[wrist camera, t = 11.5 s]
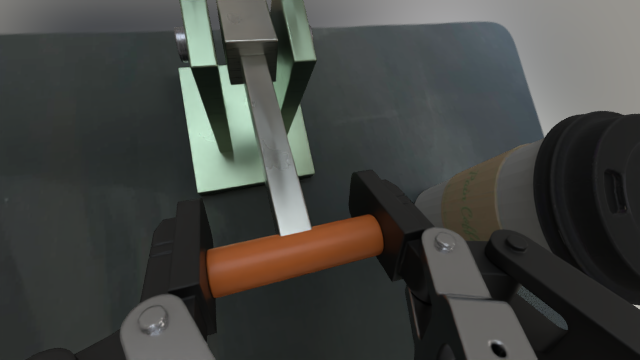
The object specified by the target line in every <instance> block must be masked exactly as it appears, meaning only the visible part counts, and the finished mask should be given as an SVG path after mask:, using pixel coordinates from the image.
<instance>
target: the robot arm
mask: <svg viewBox="0 0 640 360" xmlns="http://www.w3.org/2000/svg"><path fill="white" fill-rule="evenodd" d="M349 211H350V214H351V217H352V218H354V217H358V216H363V215H367V214H369V215H372V216H374V217H375V219H376V220H377V221H378V223H379V225H380V228H381V230H382V234H383V239H384V248H383V251H382V253H381V254H380V255H377V256H376V257H377V259H378V260H379V262H380V263H381V265H382V267H383V268H384V270H385V271H386V273H387V275H388V276H389V278H390V279H391V281H392V282H393V281H397V280H400V279H404V281H405V282H406V284H407V285H406V288H405V295H406V300H407V306H408V312H409V317H410V323H411V329H412V334H413V340H414V348H415V353H414V360H640V309H638V308H637V307H635V306H634V305H632V304H631V303H629V302H627V301H626V300H624V299H623V298H621V297H620V296H618V295H617V294H615V293H614V292H612V291H610V290H609V289H607V288H606V287H604V286H603V285H601V284H600V283H598V282H596V281H595V280H593V279H592V278H590V277H589V276H587V275H586V274H584V273H583V272H581V271H579V270H578V269H576V268H575V267H573V266H572V265H570V264H569V263H567V262H565V261H564V260H562V259H561V258H559V257H558V256H556V255H555V254H553V253H552V252H550V251H548V250H547V249H545V248H544V247H542V246H541V245H539V244H538V243H536V242H534V241H533V240H531V239H530V238H528V237H527V236H525V235H523V234H521V233H518V232H516V231H512V230H506V229H500V230H496V231H494V232H493V233H492V234H491V236H490V238H489V240H488V241H466V240H464V239H463V238H462V237H461V236H460V235H459V234H457V233H456V232H454V231H452V230H449V229H446V228H442V227H435V226H434V225H433V224H432V223H431V222H430V221H429V220H428V218H427V217H426V216H425V215H424V214H423V213H422V212H421V211H420V210H419V209H418V208H417V207H416V206H415V205H414V204H413V203H411V200H410V199H409V198H408V197H407V196H405V194H404V193H403V192H402V191H401V190H400V189H399V188H398V187H397V186H396V185H394V184H393V183H391V182H389V181H387V180H381V179H380V178H379V176H378V175H377V174H376V173H375V172H374V171H373V170H366V171H360V172H354V173H353V174H352V176H351V185H350V195H349ZM151 245H152V247H151V249H150V254H149V256H150V258H149V260H148V265H147V270H146V275H145V280H144V285H143V290H142V295H141V300H140V303H139V305H137V306H136V307H135V308H134V309H133V310H132V311H131V312H130V313H129V314H128V315H127V317H126V318H125V320H124V321H123V324H122V326H121V328H120V329H119V330H117V331H116V332H115V333H113V334H112V335H110V336H108V337H107V338H105V339H103V340H101V341H99V342H97V343H95V344H93V345H92V346H90V347H88V348H86V349H84V350H82V351H80V352H78V353H77V354H75V355H74V354H73V353H72V352H71V351H69V350H67V349H63V348H54V349H49V350H45V351H42V352H40V353H37V354H35V355H33V356H31V357H29V358H28V359H26V360H215V358H214V356H213V354H212V352H211V351H210V349H209V347H208V345H207V336H208V335H211V334H215V333H217V329H216V303H215V298H214V297H213V296H212V294H211V291H210V287H209V282H208V276H207V268H206V253H207V250H209V249H213V239H212V234H211V229H210V226H209V222H208V218H207V214H206V211H205V207H204V203H203V200H202V198H198V199H192V200H186V201H180V202H178V204H177V212H176V218H170V219H165V220H163V221H162V222H161V223H160V225H159V226H158V227H157V229H156V230H155V231H154V234H153V239H152V244H151ZM522 286H524V287H525V288H526V289H528V290H529V291H530V292H532V293H533V294H534V295H535V296H537V297H538V298H539V299H541V300H542V301H543V302H544V303H546V304H547V305H548V306H550V307H551V308H552V309H553V310H555V311H556V312H557V313H559V314H560V315H561V316H562V317H563V318H564V320H565V321H566V323H567V325H568V330H564V329H562V328H560V327H558V326H556V325H555V324H554V323H553V322H551V321H550V320H549V319H548V318H546V317H545V316H544V315H543V314H541V313H540V312H539V311H538V310H537V309H535V308H534V307H533V306H532V305H530V304H529V303H528V302H527V301H525V300H524V299H523V298H522V297H520V296H519V295H518V294H517V293H518V291H519V290H520V288H521V287H522Z"/></svg>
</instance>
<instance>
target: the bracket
mask: <svg viewBox="0 0 640 360" xmlns="http://www.w3.org/2000/svg"><path fill="white" fill-rule="evenodd" d="M179 1H180V7H181V14H182V20H183V26H184V27H175V29H174V33H175V40H176V44H177V49H178V52H179V56H180V59H181V61H182V62H189V64H190V67H185V68H178V71H179V77H180V84H181V90H182V97H183V103H184V110H185V116H186V123H187V129H188V136H189V142H190V149H191V155H192V162H193V168H194V175H195V181H196V188H197V193H198V194H199V195H206V194H212V193H218V192H224V191H229V190H235V189H241V188H247V187H253V186H259V185H265V180H264V176H263V171H262V166H261V162H260V157H259V152H258V148H257V143H256V138H255V134H254V129H253V125H252V120H251V115H250V111H249V106H248V101H247V97H246V92H245V88H244V84H239V85H231V84H230V80H229V75H228V70H227V65H221V66H218V61H217V56H216V50H215V45H214V39H213V33H212V28H211V22H210V17H209V12H208V6H207V0H179ZM270 15H271V19H272V22H273V25H274V28H275V32H276V35H277V38H278V52H277V74H276V82H273V85H274V89H275V93H276V96H277V100H278V104H279V107H280V111H281V115H282V118H283V122H284V126H285V130H286V133H287V137H288V141H289V144H290V148H291V152H292V155H293V159H294V163H295V166H296V170H297V174H298V177H299V179H300V178H306V177H312V176H313V175H314V174H315V172H314V167H313V162H312V157H311V153H310V148H309V143H308V139H307V134H306V129H305V125H304V120H303V115H302V110H301V106H300V102H301V99H302V97H303V94H304V92H305V89H306V87H307V84H308V81H309V79H310V76H311V74H312V71H313V69H314V66H315V64H316V61H317V59H316V55H315V50H314V46H313V33H312V29H311V26H310V25H309V24H308V19H307V15H306V10H305V6H304V1H303V0H272V3H271V12H270Z"/></svg>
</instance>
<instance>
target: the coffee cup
mask: <svg viewBox="0 0 640 360" xmlns="http://www.w3.org/2000/svg"><path fill="white" fill-rule="evenodd" d="M414 205H415V206H416V207H417V208H418V209H419V210H420V211H421V212H422V213H423V214H424V215H425V216H426V217H427V218H428V220H429V221H430V222H431V223H432V224H433V225H434V226H435V227H442V228H446V229H449V230H452V231H454V232H456V233H457V234H459V235H460V236H461V237H462V238H463V239H464V240H466V241H488V240H489V238H490V236H491V234H492V233H493V232H494V231H496V230H500V229H506V230H512V231H516V232H518V233H521V234H523V235H525V236H527V237H528V238H530V239H531V240H533V241H534V242H536V243H538V244H539V245H541V246H542V247H544V248H545V249H547V250H548V251H550V252H552V253H553V254H555V255H556V256H558V257H559V258H561V259H562V260H564V261H565V262H567V263H569V264H570V265H572V266H573V267H575V268H576V269H578V270H579V271H581V272H583V273H584V274H586V275H587V276H589V277H590V278H592V279H593V280H595V281H596V282H598V283H600V284H601V285H603V286H604V287H606V288H607V289H609V290H610V291H612V292H614V293H615V294H617V295H618V296H620V297H621V298H623V299H624V300H626V301H627V302H629V303H631V304H634V305H640V114H630V115H622V114H619V113H615V112H609V111H597V112H591V113H587V114H581V115H575V116H571V117H568V118H566V119H564V120H562V121H561V122H559V123H558V124H556V125H555V126H554V127H553V128H552V129H551V130H550V131H549V133H548V134H547V135H546V137H545V138H543V139H541V140H539V141H536V142H534V143H530V144H525V145H521V146H519V147H516V148H514V149H512V150H510V151H507V152H505V153H503V154H501V155H498V156H496V157H494V158H492V159H489V160H487V161H485V162H483V163H480V164H478V165H476V166H474V167H471V168H469V169H467V170H465V171H463V172H460V173H458V174H456V175H455V176H454V177H452V178H451V179H449V180H447V181H445V182H442V183H440V184H438V185H436V186H433V187H431V188H429V189H427V190H425V191H423V192H422V193H421V194H420V195H419V196H418V198H417V199H416V202H415V204H414Z"/></svg>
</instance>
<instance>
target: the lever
mask: <svg viewBox="0 0 640 360" xmlns="http://www.w3.org/2000/svg"><path fill="white" fill-rule="evenodd" d="M216 3H217V9H218V16H219V22H220V30H221V36H222V43H223V49H224V54H225V59H226V64H227V70H228V75H229V80H230V84H231V85H239V84H244V88H245V92H246V97H247V101H248V106H249V111H250V115H251V120H252V125H253V129H254V134H255V138H256V143H257V148H258V152H259V157H260V162H261V166H262V171H263V176H264V180H265V185H266V189H267V194H268V199H269V203H270V208H271V213H272V217H273V222H274V226H275V231H276V235H272V236H267V237H263V238H258V239H254V240H249V241H244V242H240V243H235V244H231V245H226V246H222V247H217V248H213V249H209V250H207V253H206V268H207V276H208V282H209V287H210V291H211V294H212V296H213V297H214V298H218V297H222V296H226V295H230V294H233V293H237V292H241V291H245V290H249V289H252V288H256V287H260V286H264V285H267V284H271V283H275V282H279V281H282V280H286V279H290V278H294V277H298V276H301V275H305V274H309V273H313V272H316V271H320V270H324V269H328V268H332V267H335V266H339V265H343V264H347V263H350V262H354V261H358V260H362V259H365V258H369V257H373V256H377V255H380V254H381V253H382V251H383V248H384V239H383V234H382V230H381V228H380V225H379V223H378V221H377V220H376V219H375V217H374V216H372V215H369V214H367V215H363V216H358V217H354V218H349V219H345V220H340V221H335V222H331V223H326V224H322V225H317V226H313V227H312V225H311V222H310V218H309V214H308V211H307V207H306V203H305V200H304V196H303V192H302V189H301V185H300V181H299V177H298V174H297V170H296V166H295V163H294V159H293V155H292V152H291V148H290V144H289V141H288V137H287V133H286V130H285V126H284V122H283V118H282V115H281V111H280V107H279V104H278V100H277V96H276V93H275V89H274V85H273V82H276V74H277V52H278V38H277V35H276V32H275V28H274V25H273V22H272V19H271V15H270V12H269V9H268V6H267V2H266V0H216Z"/></svg>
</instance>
